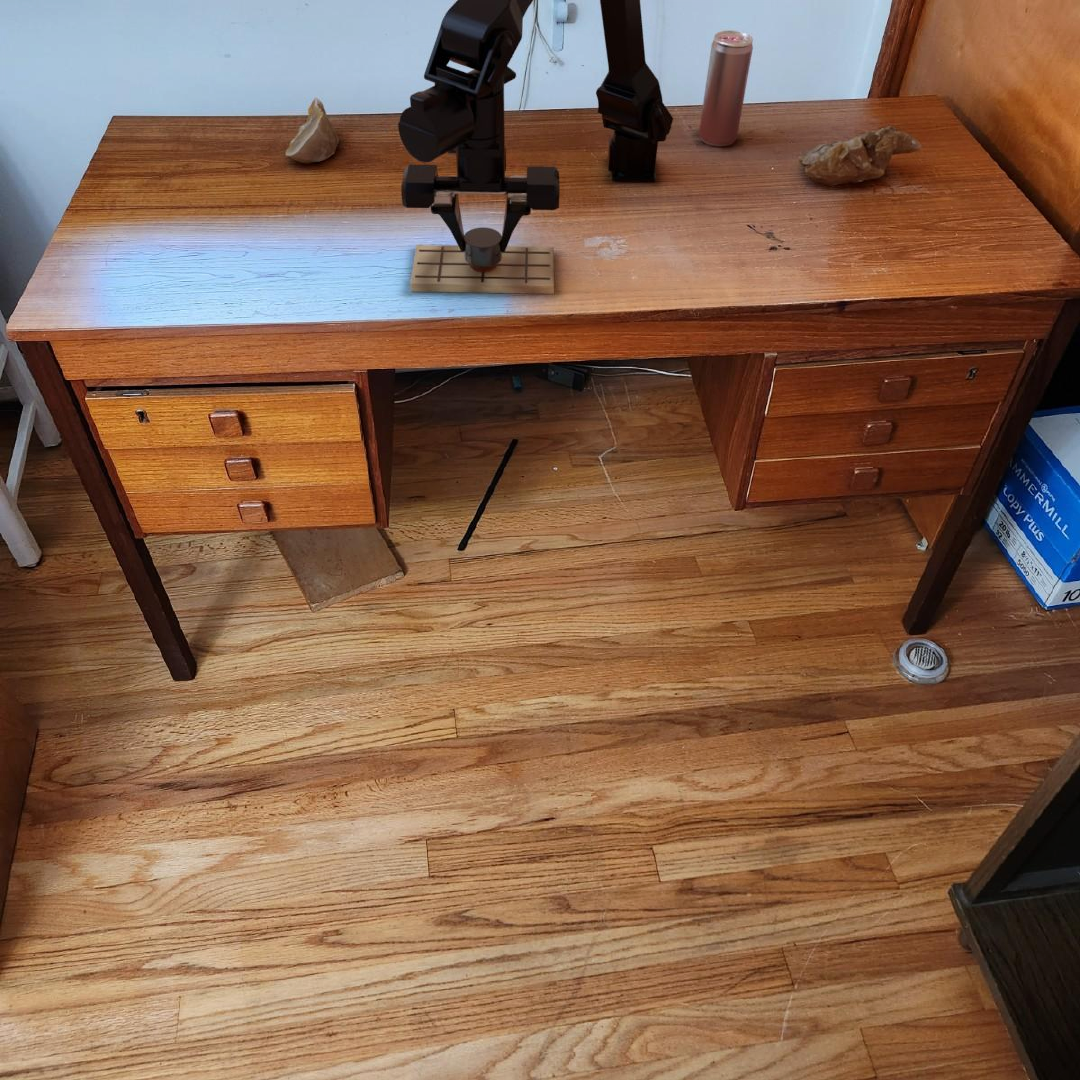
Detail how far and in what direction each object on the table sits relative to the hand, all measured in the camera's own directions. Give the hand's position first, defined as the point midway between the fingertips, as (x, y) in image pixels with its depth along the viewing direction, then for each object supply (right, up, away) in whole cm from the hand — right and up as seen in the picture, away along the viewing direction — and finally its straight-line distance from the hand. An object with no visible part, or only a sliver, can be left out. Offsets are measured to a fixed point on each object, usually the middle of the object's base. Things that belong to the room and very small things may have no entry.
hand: (483, 250), depth 121 cm
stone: (-27, +23, +25) cm, 43 cm away
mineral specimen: (+54, +17, +22) cm, 61 cm away
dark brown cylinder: (0, -1, +1) cm, 1 cm away
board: (0, -2, +2) cm, 3 cm away
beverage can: (+35, +26, +29) cm, 52 cm away
